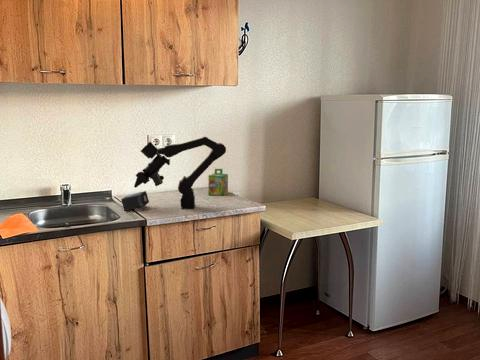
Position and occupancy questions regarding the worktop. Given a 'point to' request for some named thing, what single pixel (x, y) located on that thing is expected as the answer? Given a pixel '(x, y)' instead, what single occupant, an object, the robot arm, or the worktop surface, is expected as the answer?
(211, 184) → the chalk box
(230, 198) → the worktop surface
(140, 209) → the stop strip
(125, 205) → the small box
